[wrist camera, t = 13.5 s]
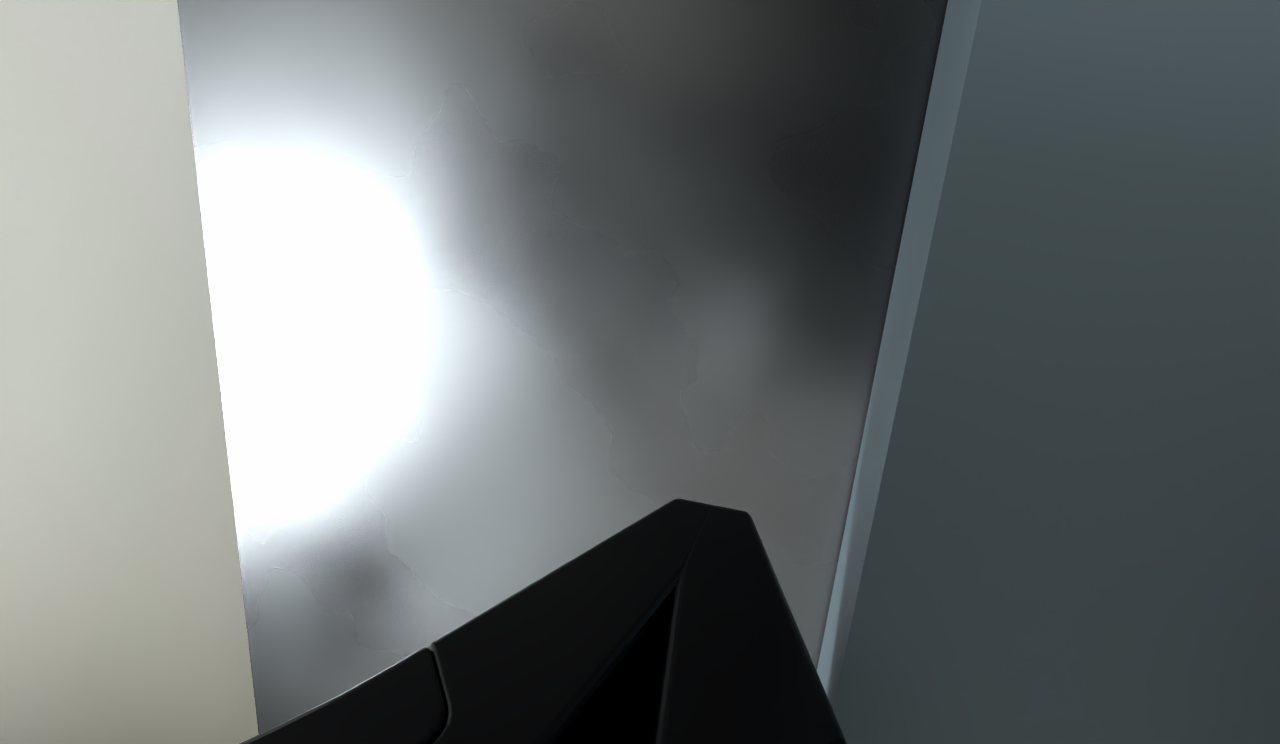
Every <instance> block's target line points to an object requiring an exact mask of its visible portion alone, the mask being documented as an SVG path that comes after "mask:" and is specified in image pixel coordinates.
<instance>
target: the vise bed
mask: <svg viewBox="0 0 1280 744" xmlns="http://www.w3.org/2000/svg"><path fill="white" fill-rule="evenodd" d="M177 2H178V11H179V20H180V29H181V38H182V47H183V56H184V65H185V74H186V83H187V92H188V101H189V110H190V119H191V128H192V137H193V146H194V155H195V164H196V173H197V182H198V191H199V200H200V209H201V218H202V227H203V236H204V245H205V254H206V263H207V272H208V281H209V290H210V299H211V308H212V317H213V326H214V335H215V344H216V353H217V362H218V371H219V380H220V389H221V398H222V407H223V416H224V425H225V435H226V444H227V453H228V462H229V471H230V480H231V489H232V498H233V507H234V516H235V525H236V534H237V543H238V552H239V561H240V570H241V579H242V588H243V597H244V606H245V615H246V624H247V633H248V642H249V651H250V660H251V669H252V678H253V687H254V696H255V705H256V714H257V723H258V732H259V734H261V733H264V732H266V731H268V730H270V729H272V728H274V727H276V726H278V725H280V724H282V723H284V722H286V721H288V720H290V719H292V718H294V717H296V716H298V715H300V714H302V713H304V712H306V711H308V710H310V709H312V708H314V707H316V706H318V705H320V704H322V703H324V702H327V701H329V700H331V699H333V698H335V697H337V696H338V695H340V694H342V693H344V692H346V691H347V690H349V689H351V688H353V687H355V686H356V685H358V684H360V683H362V682H363V681H365V680H367V679H369V678H371V677H372V676H374V675H376V674H378V673H380V672H381V671H383V670H385V669H387V668H389V667H390V666H392V665H394V664H396V663H397V662H399V661H401V660H402V659H404V658H406V657H407V656H409V655H411V654H412V653H414V652H416V651H418V650H419V649H421V648H423V647H427V648H429V647H430V644H431V643H432V642H433V641H435V640H437V639H438V638H440V637H442V636H444V635H445V634H447V633H449V632H450V631H452V630H454V629H455V628H457V627H459V626H460V625H462V624H464V623H465V622H467V621H469V620H471V619H472V618H474V617H476V616H477V615H479V614H481V613H482V612H484V611H486V610H487V609H489V608H491V607H493V606H494V605H496V604H498V603H499V602H501V601H503V600H504V599H506V598H508V597H509V596H511V595H513V594H514V593H516V592H518V591H520V590H521V589H523V588H525V587H526V586H528V585H530V584H531V583H533V582H535V581H536V580H538V579H540V578H542V577H543V576H545V575H547V574H548V573H550V572H552V571H553V570H555V569H557V568H558V567H560V566H562V565H563V564H565V563H567V562H569V561H570V560H572V559H574V558H575V557H577V556H579V555H580V554H582V553H584V552H585V551H587V550H589V549H591V548H592V547H594V546H596V545H597V544H599V543H601V542H602V541H604V540H606V539H607V538H609V537H611V536H612V535H614V534H616V533H618V532H619V531H621V530H623V529H624V528H626V527H628V526H629V525H631V524H633V523H634V522H636V521H638V520H640V519H641V518H643V517H645V516H646V515H648V514H650V513H651V512H653V511H655V510H656V509H658V508H660V507H661V506H663V505H665V504H667V503H668V502H670V501H672V500H674V499H685V500H690V501H695V502H700V503H705V504H710V505H716V506H721V507H726V508H731V509H736V510H741V511H745V512H747V513H749V514H750V516H751V517H752V519H753V522H754V524H755V526H756V529H757V531H758V534H759V536H760V538H761V541H762V543H763V545H764V548H765V550H766V552H767V555H768V557H769V560H770V562H771V564H772V567H773V569H774V571H775V574H776V576H777V579H778V581H779V583H780V586H781V588H782V590H783V593H784V595H785V597H786V600H787V602H788V605H789V607H790V609H791V612H792V614H793V616H794V619H795V621H796V624H797V626H798V628H799V631H800V633H801V635H802V638H803V640H804V642H805V645H806V647H807V650H808V652H809V654H810V657H811V659H812V661H813V664H814V666H815V669H816V671H817V668H818V663H819V657H820V652H821V647H822V642H823V637H824V632H825V627H826V622H827V617H828V612H829V606H830V601H831V596H832V591H833V586H834V581H835V576H836V571H837V566H838V560H839V555H840V550H841V545H842V540H843V535H844V530H845V525H846V520H847V514H848V509H849V504H850V499H851V494H852V489H853V484H854V479H855V474H856V468H857V463H858V458H859V453H860V448H861V443H862V438H863V433H864V428H865V422H866V417H867V412H868V407H869V402H870V397H871V392H872V387H873V382H874V376H875V371H876V366H877V361H878V356H879V351H880V346H881V341H882V336H883V330H884V325H885V320H886V315H887V310H888V305H889V300H890V295H891V290H892V285H893V279H894V274H895V269H896V264H897V259H898V254H899V249H900V244H901V239H902V233H903V228H904V223H905V218H906V213H907V208H908V203H909V198H910V193H911V187H912V182H913V177H914V172H915V167H916V162H917V157H918V152H919V147H920V141H921V136H922V131H923V126H924V121H925V116H926V111H927V106H928V101H929V95H930V90H931V85H932V80H933V75H934V70H935V65H936V60H937V55H938V49H939V44H940V39H941V34H942V29H943V24H944V19H945V14H946V9H947V4H948V0H177Z"/></svg>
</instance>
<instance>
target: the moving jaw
mask: <svg viewBox="0 0 1280 744" xmlns="http://www.w3.org/2000/svg"><path fill="white" fill-rule="evenodd" d="M817 673H818V676H819V678H820V680H821V683H822V685H823V687H824V690H825V692H826V695H827V697H828V699H829V702H830V704H831V706H832V709H833V711H834V714H835V716H836V718H837V721H838V723H839V725H840V728H841V730H842V732H843V735H844V737H845V740H846V742H847V744H1280V0H948V4H947V9H946V14H945V19H944V24H943V29H942V34H941V39H940V44H939V49H938V55H937V60H936V65H935V70H934V75H933V80H932V85H931V90H930V95H929V101H928V106H927V111H926V116H925V121H924V126H923V131H922V136H921V141H920V147H919V152H918V157H917V162H916V167H915V172H914V177H913V182H912V187H911V193H910V198H909V203H908V208H907V213H906V218H905V223H904V228H903V233H902V239H901V244H900V249H899V254H898V259H897V264H896V269H895V274H894V279H893V285H892V290H891V295H890V300H889V305H888V310H887V315H886V320H885V325H884V330H883V336H882V341H881V346H880V351H879V356H878V361H877V366H876V371H875V376H874V382H873V387H872V392H871V397H870V402H869V407H868V412H867V417H866V422H865V428H864V433H863V438H862V443H861V448H860V453H859V458H858V463H857V468H856V474H855V479H854V484H853V489H852V494H851V499H850V504H849V509H848V514H847V520H846V525H845V530H844V535H843V540H842V545H841V550H840V555H839V560H838V566H837V571H836V576H835V581H834V586H833V591H832V596H831V601H830V606H829V612H828V617H827V622H826V627H825V632H824V637H823V642H822V647H821V652H820V657H819V663H818V668H817Z"/></svg>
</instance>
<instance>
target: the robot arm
mask: <svg viewBox="0 0 1280 744" xmlns="http://www.w3.org/2000/svg"><path fill="white" fill-rule="evenodd" d="M240 744H847V742H846V740H845V737H844V735H843V732H842V730H841V728H840V725H839V723H838V721H837V718H836V716H835V714H834V711H833V709H832V706H831V704H830V702H829V699H828V697H827V695H826V692H825V690H824V687H823V685H822V683H821V680H820V678H819V676H818V673H817V671H816V669H815V666H814V664H813V661H812V659H811V657H810V654H809V652H808V650H807V647H806V645H805V642H804V640H803V638H802V635H801V633H800V631H799V628H798V626H797V624H796V621H795V619H794V616H793V614H792V612H791V609H790V607H789V605H788V602H787V600H786V597H785V595H784V593H783V590H782V588H781V586H780V583H779V581H778V579H777V576H776V574H775V571H774V569H773V567H772V564H771V562H770V560H769V557H768V555H767V552H766V550H765V548H764V545H763V543H762V541H761V538H760V536H759V534H758V531H757V529H756V526H755V524H754V522H753V519H752V517H751V516H750V514H749V513H747V512H745V511H741V510H736V509H731V508H726V507H721V506H716V505H710V504H705V503H700V502H695V501H690V500H685V499H674V500H672V501H670V502H668V503H667V504H665V505H663V506H661V507H660V508H658V509H656V510H655V511H653V512H651V513H650V514H648V515H646V516H645V517H643V518H641V519H640V520H638V521H636V522H634V523H633V524H631V525H629V526H628V527H626V528H624V529H623V530H621V531H619V532H618V533H616V534H614V535H612V536H611V537H609V538H607V539H606V540H604V541H602V542H601V543H599V544H597V545H596V546H594V547H592V548H591V549H589V550H587V551H585V552H584V553H582V554H580V555H579V556H577V557H575V558H574V559H572V560H570V561H569V562H567V563H565V564H563V565H562V566H560V567H558V568H557V569H555V570H553V571H552V572H550V573H548V574H547V575H545V576H543V577H542V578H540V579H538V580H536V581H535V582H533V583H531V584H530V585H528V586H526V587H525V588H523V589H521V590H520V591H518V592H516V593H514V594H513V595H511V596H509V597H508V598H506V599H504V600H503V601H501V602H499V603H498V604H496V605H494V606H493V607H491V608H489V609H487V610H486V611H484V612H482V613H481V614H479V615H477V616H476V617H474V618H472V619H471V620H469V621H467V622H465V623H464V624H462V625H460V626H459V627H457V628H455V629H454V630H452V631H450V632H449V633H447V634H445V635H444V636H442V637H440V638H438V639H437V640H435V641H433V642H432V643H431V644H430V647H429V648H427V647H423V648H421V649H419V650H418V651H416V652H414V653H412V654H411V655H409V656H407V657H406V658H404V659H402V660H401V661H399V662H397V663H396V664H394V665H392V666H390V667H389V668H387V669H385V670H383V671H381V672H380V673H378V674H376V675H374V676H372V677H371V678H369V679H367V680H365V681H363V682H362V683H360V684H358V685H356V686H355V687H353V688H351V689H349V690H347V691H346V692H344V693H342V694H340V695H338V696H337V697H335V698H333V699H331V700H329V701H327V702H324V703H322V704H320V705H318V706H316V707H314V708H312V709H310V710H308V711H306V712H304V713H302V714H300V715H298V716H296V717H294V718H292V719H290V720H288V721H286V722H284V723H282V724H280V725H278V726H276V727H274V728H272V729H270V730H268V731H266V732H264V733H261V734H259V735H257V736H255V737H253V738H251V739H249V740H247V741H244V742H242V743H240Z"/></svg>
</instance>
